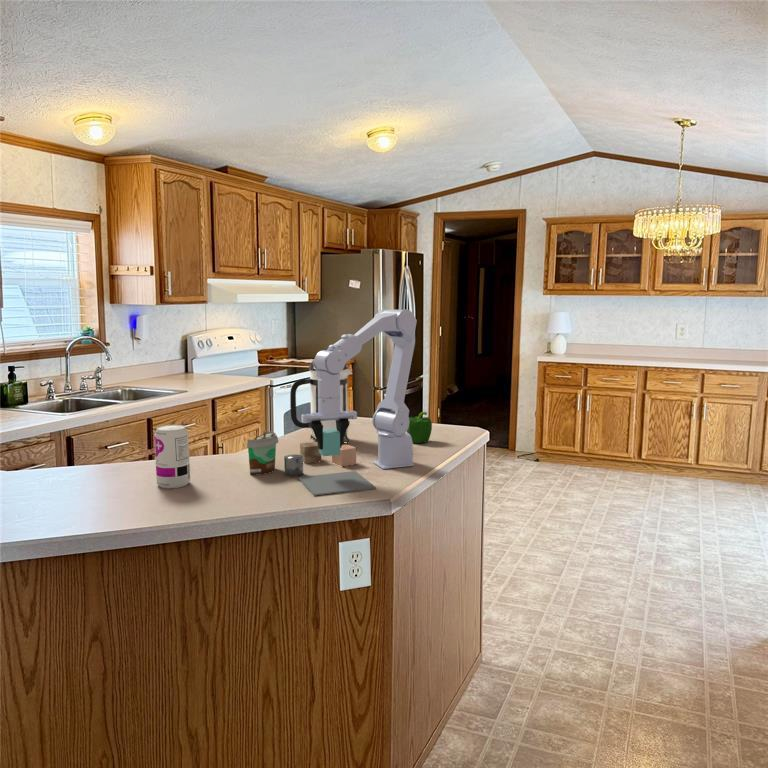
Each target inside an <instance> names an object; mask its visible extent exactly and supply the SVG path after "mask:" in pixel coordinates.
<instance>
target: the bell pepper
mask: <svg viewBox="0 0 768 768" xmlns="http://www.w3.org/2000/svg"><path fill="white" fill-rule="evenodd" d="M427 414H428V412H427V411H421V412H420V413H419V414H418V416H414V417H412V416H411V417H409V428H408V430H407V431H406V433H409V434H410V435H411V438H412V443H413V444H422V443H423V444H424V443H428V442H429V440H430V437H431V435H432V429H433V422H432V421H431V418H430V417H427ZM423 415H425V416H426V417H425V416H424V417H422V416H423Z"/></svg>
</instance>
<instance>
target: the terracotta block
mask: <svg viewBox="0 0 768 768" xmlns="http://www.w3.org/2000/svg"><path fill="white" fill-rule="evenodd" d="M331 459H332V461H331V462H332V463H335V464H337V465H340V466H346V467H348V466H347V465H351V466H355V465H354V464H356V465H357V447H355V446H352V445H349V444H348V443H347V444H342V448H340V455H333V456H331ZM335 464H334V465H335ZM337 465H336V466H337ZM340 466H339V467H340Z"/></svg>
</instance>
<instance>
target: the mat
mask: <svg viewBox="0 0 768 768" xmlns="http://www.w3.org/2000/svg"><path fill="white" fill-rule="evenodd" d="M297 479H298V480H299V482H300V481H301V482H302V483H303V484H304V485H305V486H306V487H305V486H304V485H303V484H302V483H301V482H300V483H301V484H302V485H303V486H304V487H305V488H306V489H307V490H308V492H309V493H310V492H311V493H312V494H313V495H314V496H313V495H312V494H311V495H312V496H313V497H318V496H317V495H322V496H326V495H325V494H330V495H333V494H332V493H338V494H343V493H342V492H347V493H353V492H352V491H355V492H360V491H359V490H364V491H369V490H368V489H372V490H376V489H377V487H376V486H375V485H374V484H372V483H371V482H370V481H368V480H367V478H365V477H364V476H362V474H360V473H358V472H357V471H356V470H353V471H343V472H333V473H325V474H315V475H305V476H304V475H303V476H299V477H297Z"/></svg>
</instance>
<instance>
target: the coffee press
mask: <svg viewBox="0 0 768 768" xmlns="http://www.w3.org/2000/svg"><path fill="white" fill-rule="evenodd" d="M313 361H314V359H313V360H312V361H311V362H310V364H309V366H308V370H309V378H300V379H297V380H296V381H295V382H294V383H293V384H292V386H291V388H290V395H289V398H290V400H289V401H290V403H289V404H290V418H291V421H292V423H293V424H294V426H296V427H297V428H303V429H310V431H311V435H310V439H311V438H315V439H314V442H317V440H316V436H315V434H314V431H313V429H312V427H311V425H310V423H309V422H307V423H302V422H301V421H300V420H298V418H297V397H296V395H297V391H298V388H299V387H300V386H301V385H309V388H310V414H311V413H318V376H317V372H316V370H315V368H314V366H313ZM348 375H353V372H352V371H351V369H349V365H347V362H346V363H345V366H344V368H343V370H342V371H341V372H340V411H349V409H348V408H349V407H348V401H349V400H348V384H349V377H348ZM321 423H322V425H323V430H331V429H336V421H335V420H332V421H321ZM336 430H337V429H336ZM348 432H349V427H348V428H347V430H346V432H345V435H344V438H343V442H347V444H349V443H350V439H349V437H348ZM343 442H342V443H343ZM348 442H349V443H348Z"/></svg>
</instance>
